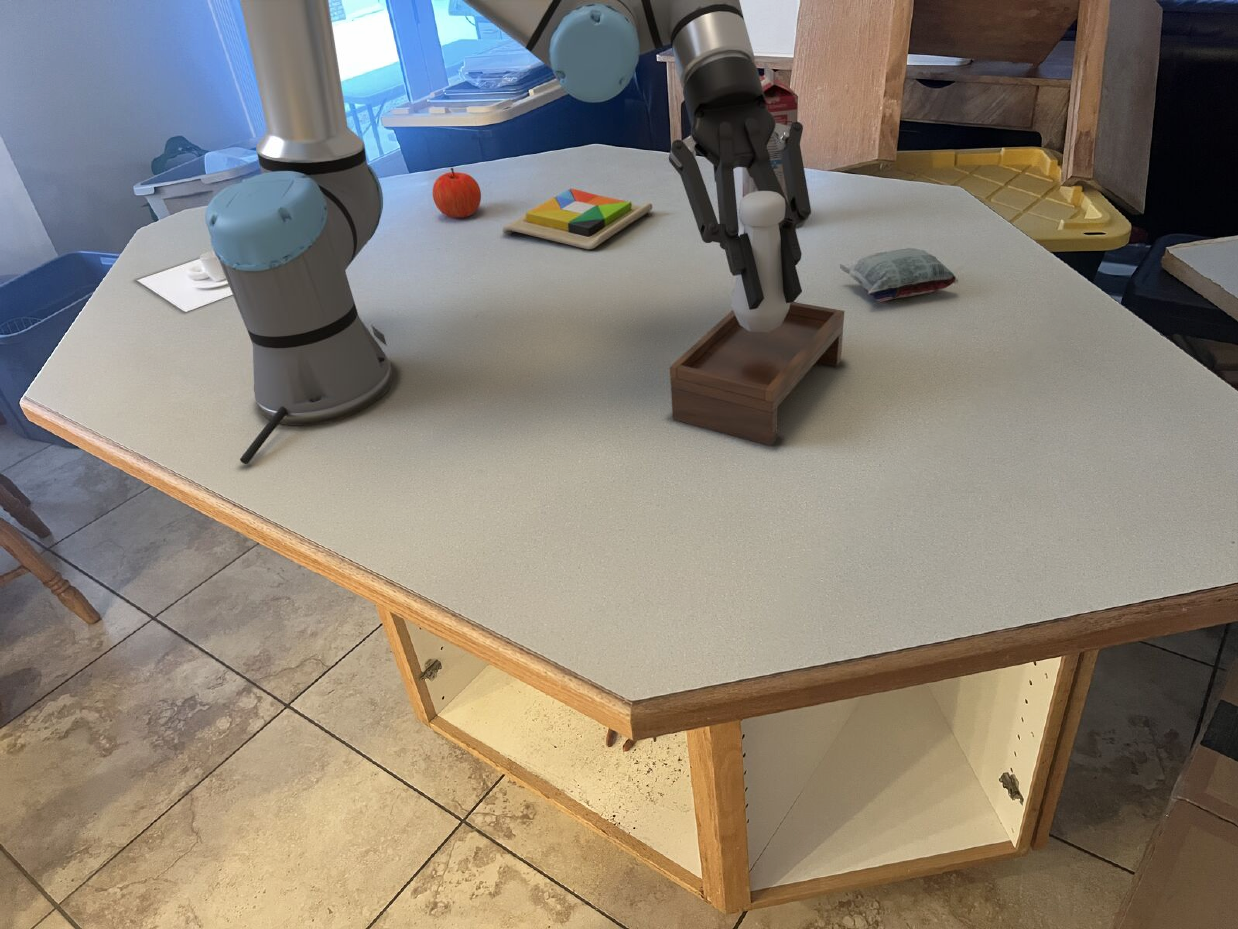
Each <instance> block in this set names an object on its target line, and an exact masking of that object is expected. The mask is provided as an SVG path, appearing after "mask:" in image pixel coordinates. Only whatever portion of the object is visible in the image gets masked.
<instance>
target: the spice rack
mask: <svg viewBox="0 0 1238 929" xmlns="http://www.w3.org/2000/svg"><path fill="white" fill-rule="evenodd" d="M844 322H845V310H843V309H835V308H830V307H824V306H818V305H812V304H808V303H802V302H797V301H794V302H791V303H790V307H789V310H788V312H787V314H786V316H785V318H784V320H783V322H782V325H781V326H779V327H777V328H775V329H774V330H772V331H770V332H750V331H748V330H747V329H745V328H744V327H742V326H741V325H740V324H739V322H738V320H737V318H736V316H735V313H734V311H733V309H732V310H730V312H729V313H728V314H726V316H724V317H723V318H722V319H721V320H719V321H718V323H717V324H715V325H714V326H713V327H712V328H711V329H710V330H708V331H707V332H706V333H705V334H704V335H703V336H702V337H701V338H700V339H699V340H698V341H696V342H695V343H694V344H693V345H692V346H691V347H690V348H689V349H687V351H685V353H683V354H682V355H681V356H680V357H678V359H676V361H674V362H673V363H672V364H671V365H670V366H669V378H670V379H669V380H670V394H671V395H670V396H671V412H672V413H671V414H672V420H674V421H678V422H681V423H685V424H690V425H692V426H696V427H699V428H703V429H707V430H710V431H714V432H718V433H721V434H725V435H729V436H733V437H737V438H740V439H744V440H747V441H751V442H755V443H759V444H763V445H765V446H769V447H772V446H773V445H774V444H775V442H776V441H777V437H778V436H777V435H778V434H777V432H778V407H779V406H780V405H781V404H782V402H783V401H784V400H785V399H786V397H787V396H788V395H789V394H790V393H791V392H792V390H793V389H794V388H795V387H796V386H797V385H798V384H799V382H801V380H802V379H803V378H804V377H805V375H806V374H807V373H808V372H809V371H810V370H811V369H812V367H813V366H814V365H815V364H816V363H818V364H822V365H827V366H831V367H838V366H839V364H840V363H841V360H842V348H843V337H844V336H843V335H844Z"/></svg>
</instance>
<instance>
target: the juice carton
mask: <svg viewBox="0 0 1238 929" xmlns="http://www.w3.org/2000/svg"><path fill="white" fill-rule="evenodd" d="M763 65H764V68H763V69H764V70H763V71H764V75H763V76H760V81H761V84H762V88H763V92H764V96H765V101H766V107H767V109H768V111H769V112H770V113H771V114H772V115H773V117H774V118H775V121H776V123H780V124H784V125H787V126H791V125H792V123H793V122H798V110H799V109H798V108H799V96H798V94H796V93H795V91H794V90H793V89H792V88H791V87H790V85H787V84H786V83H785V82H783V81H781V80H778V79H776V75H775V71H774V70H773V69H772V68H771V67H770V66H769V64H768V63H766V62H764V64H763ZM767 149H768V152H769V154H770V162H771V165H772V167H773V169H774V172H775V174H776V176H777V179H778V181H779V183H780V186H781V188H782V190H783V193H784V195H785V197H786V200H787V202H788V198H787V192H786V186H785V180H784V174H783V168H782V161H781V153H782V150H778V147H777V144H776V140H775V138H773V137H771V138H770V140H769V142H768V144H767ZM741 168H742V169H741V171H742V172H741V174H742V181H741V182H742V183H741V184H742V189H741V190H742V195H741V196H742V198H743V197H744V196H745V195H747V194H749V193H752V192H756V191H758V189H757V187H756V185H755V182H754V180H753V178H751V177H750V176H749V174H748V171H747V169H746V168H744V167H741ZM742 198H741V199H742Z"/></svg>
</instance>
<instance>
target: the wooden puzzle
mask: <svg viewBox="0 0 1238 929" xmlns="http://www.w3.org/2000/svg"><path fill="white" fill-rule="evenodd" d="M652 209H653V203H651V202H648V203H646V204H644V205H643V206H641V205H637V204H632V201H626V200H623V199H618V198H613V197H608V196H603V195H598V194H596V193H592V192H588V191H583V190H580V189H575V188H569V189H567V190H565V191H563V192H561V193H559V194H558V195H556V196H554V197H552V198H550V199H548V200H547V201H545V202H543V203H541V204H539V205H538V206H536V207H533V208H532V209H530V210H529V211H527V212H526V213H525V214H523V215H522V216H520V217H518V218H517V219H515V220H513V221H511V222H509V223H507V224H506V225H503V227H502V228H501V229H502V233H503V234H505V235H508V234H510V233H512V232H516V233H519V234H524V235H529V236H531V237H537V238H540V239H543V240H547V241H548V240H549V241H552V242H556V243H561V244H564V245H568V246H573V247H577V248H581V249H584V250H585V249H586V250H592V249H593V250H594V249H595V248H596V247H598V246H600V245H601V244H602V243H603V242H605V241H606V240H608V239H610V238H612V236H614V235H616V234H618V233H619V232H620V231H622V230H623V229H625V228H626V227H627V226H629V225H631V224H633V223H634V222H635V221H637V220H638V219H640V218H641V217H644V216H645V215H646V214H647V213H649V212H651V210H652Z"/></svg>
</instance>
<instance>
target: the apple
mask: <svg viewBox="0 0 1238 929" xmlns="http://www.w3.org/2000/svg"><path fill="white" fill-rule="evenodd" d="M450 170H451V172H450V171H449V172H446V173H444V174H442V175H440V176H439V177H437V178H436V180H435V181H434V183H433V186H432V200H433V202H434V204H435V206H436V208H437V209H438V210H439V212H441V213H442V214H443V215H445V216H446V217H448V218H449V217H450V218H452V219H456V218H467V217H469V216H472V215H474V213H476V212H477V210H478V209H479V207H480V205H481V200H482V190H481V188H480V185H479V184H478V181H476V179H475V178H473V176H471V175H469V174H467V173H464V172H459V171H454V168H453V167H451V168H450Z"/></svg>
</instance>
